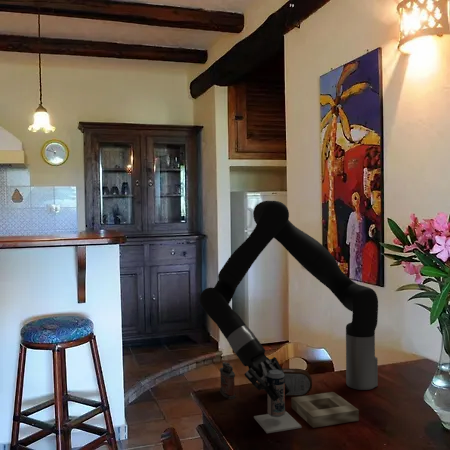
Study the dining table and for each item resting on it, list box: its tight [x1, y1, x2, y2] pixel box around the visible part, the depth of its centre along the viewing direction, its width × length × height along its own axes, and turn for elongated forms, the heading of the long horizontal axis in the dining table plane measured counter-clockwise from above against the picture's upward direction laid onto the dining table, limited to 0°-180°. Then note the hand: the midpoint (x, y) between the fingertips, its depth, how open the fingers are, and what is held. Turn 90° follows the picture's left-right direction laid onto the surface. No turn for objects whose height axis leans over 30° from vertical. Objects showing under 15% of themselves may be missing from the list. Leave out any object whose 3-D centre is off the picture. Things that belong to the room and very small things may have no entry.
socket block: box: [290, 391, 360, 429], centre depth 141 cm, size 14×14×3 cm
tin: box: [264, 367, 313, 397], centre depth 155 cm, size 15×3×8 cm, turn 84°
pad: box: [253, 410, 302, 434], centre depth 135 cm, size 10×10×1 cm
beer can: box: [266, 369, 286, 417], centre depth 135 cm, size 5×5×12 cm
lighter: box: [219, 361, 236, 400], centre depth 156 cm, size 8×3×10 cm, turn 23°
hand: (282, 395), depth 134 cm, fingers closed on beer can, 4 cm apart
